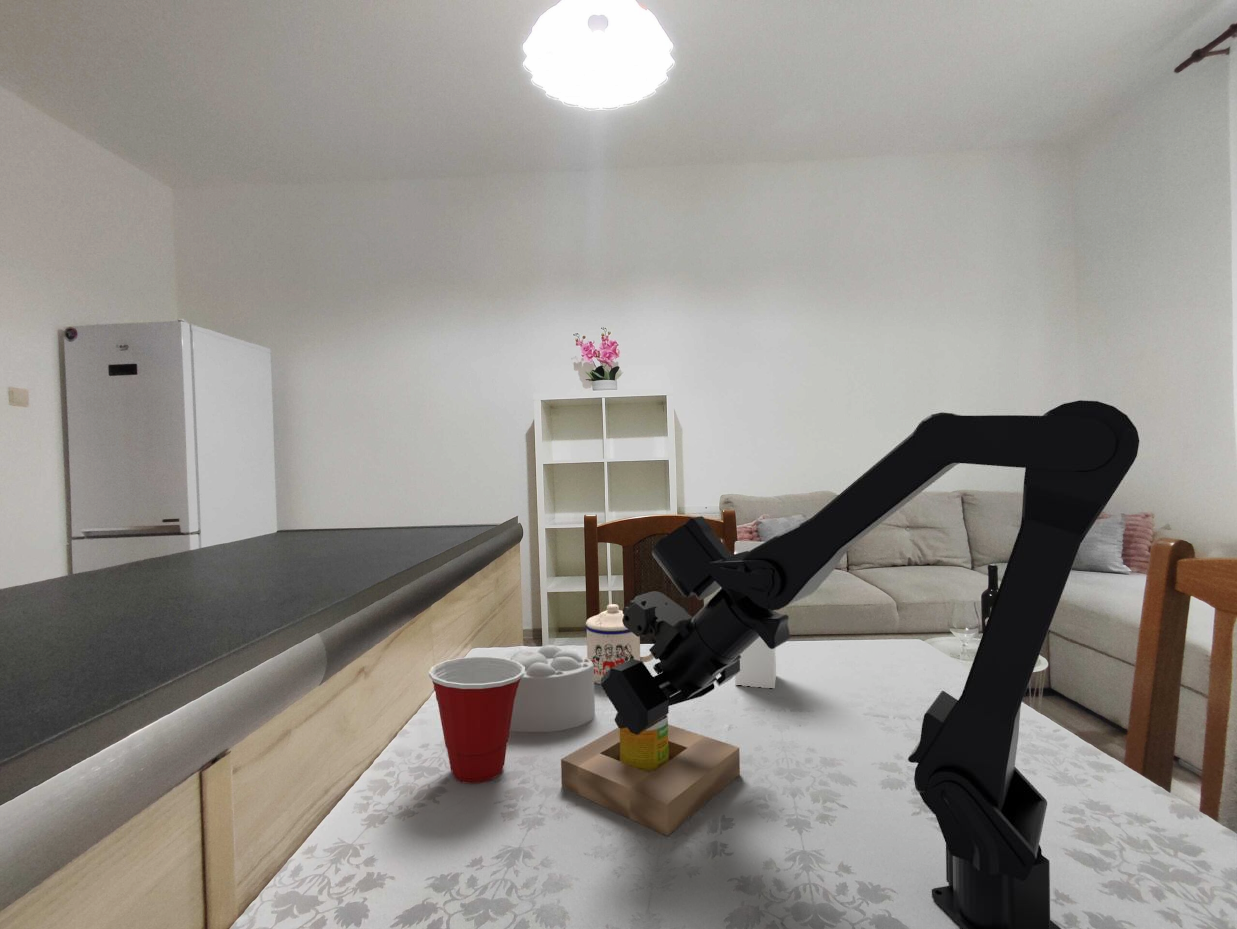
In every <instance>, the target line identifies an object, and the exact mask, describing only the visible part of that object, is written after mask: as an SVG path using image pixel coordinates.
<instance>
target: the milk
mask: <svg viewBox="0 0 1237 929" xmlns="http://www.w3.org/2000/svg"><path fill="white" fill-rule="evenodd" d="M765 542H766V541H752V540H751V541H748V540H747V541H743V540H741V541H740V540H737V541H735V542H734V552H733V555H734V554H737V553H741V552H745V551H751V550H752V549H754V548H756V547H758V546H759V545H761V544H763V543H765ZM774 611H775V612H776V610H774ZM776 651H777V647H776V648H774V649H770V648H769V647H768V646H767V645H766V644H765V642H764V641H763V640H762V639H761V637H759V638H758V639H757V640H755V641H754V642H753V643H752V644H751V645H750V646H749V647H748V648H747V649H746V650H744V651H743V652H742V653H741V654H740V656H741V658H740V671H739V672H738V673H737V674H736V675H735V676H734V685H735V686H736V685H742V686H741V687H747V686H750V687H749V688H758V687H761V688H760V689H769V688H773V689H772V690H775V689H776V688H775V687H776V678H777V661H776V660H777V656H776V655H777V654H776Z"/></svg>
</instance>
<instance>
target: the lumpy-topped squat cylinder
mask: <svg viewBox="0 0 1237 929" xmlns="http://www.w3.org/2000/svg"><path fill="white" fill-rule="evenodd" d="M506 659H509V660H513V661H516V662H519V663H520V664H522V665H523V666H524V667H525V673H524V676H523V677H522V678H521V680H520V682H519V685H518V688H517V692H516V697H515V699H514V706H513V712H512V719H511V726H510V732H521V733H522V732H523V733H549V732H550V733H551V732H553V733H554V732H560V731H564V730H569V729H573V728H576V727H577V728H578V727H579V726H580V727H581V726H583V725H585V724H586V723H587V724H588V723H589V722H591V721H592V720H593V719H594V718H595V715H596V704H595V702H596V700H595V698H596V696H595V695H596V694H595V683H594V664H593V663H592V661H590V660H589V659H587V657H585V656H582V655H579V654H578V653H576V651H573V650H570V649H565V650H562V649H561V648H559V647H558V646H556V645H553V644H548V645H547V644H546V645H543V646H541V647H540V648H539V650H538V651H533V650H528V649H527V650H526V649H525V650H523V649H522V650H518V651H516V652H514V654H513V655H510V656H508V657H506Z"/></svg>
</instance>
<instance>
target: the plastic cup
mask: <svg viewBox="0 0 1237 929" xmlns="http://www.w3.org/2000/svg"><path fill="white" fill-rule="evenodd" d="M524 673H525V667H524V666H523V665H522V664H520V663H519V662H516V661H513V660H509V659H507V658H504V657H496V656H469V657H458V658H454V659H449V660H448V659H447V660H445V661H441V662H439V663H436V664H435V665H432V666H431V668H430V669H429V671H428V677H429V678H430V679H431V681H432V685H433V690H434V691H435V699H436V702H437V705H438V706H437V707H438V711H439V716H440V722H441V728H442V734H443V740H444V745H445V748H446V751H447V756H448V762H449V767H450V770H451V773H452V776H453V777H454V779H455V780H456V781H458V782H460V783H465V784H480V783H484V782H488V781H491V780H493V779H495V778H496V777H498V776H499V775H500V774H501V773H502V772H503V770H504V766H505V762H506V753H507V747H508V746H507V745H508V742H509V738H510V732H511V731H510V726H511V719H512V712H513V706H514V699H515V697H516V692H517V688H518V685H519V682H520V680H521V678H522V677H523V676H524Z"/></svg>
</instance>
